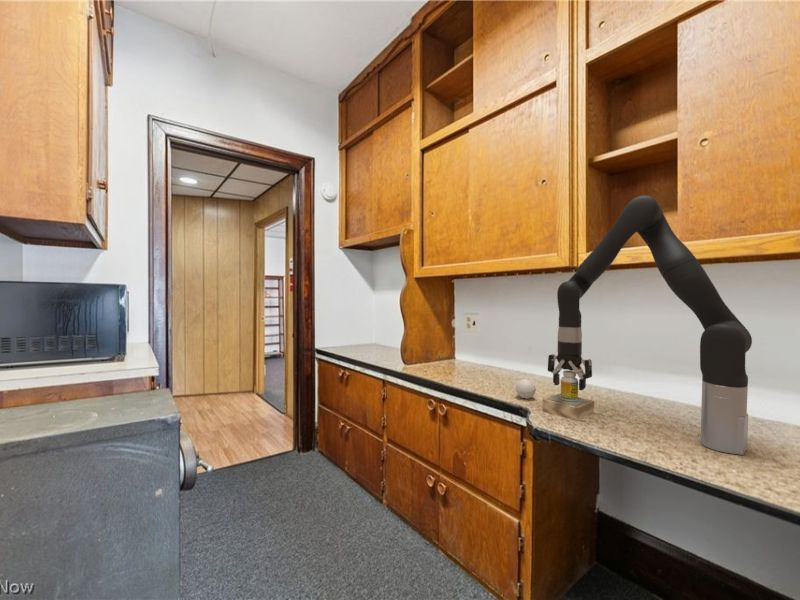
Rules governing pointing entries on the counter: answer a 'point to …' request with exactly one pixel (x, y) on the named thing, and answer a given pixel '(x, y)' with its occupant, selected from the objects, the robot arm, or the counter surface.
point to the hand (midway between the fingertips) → (568, 387)
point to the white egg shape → (525, 388)
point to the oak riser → (568, 407)
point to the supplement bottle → (569, 386)
